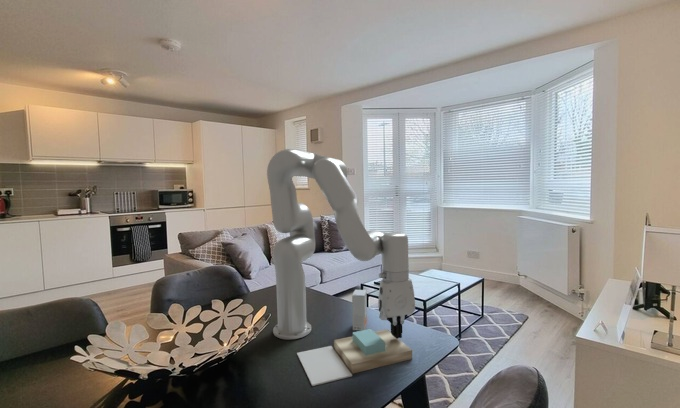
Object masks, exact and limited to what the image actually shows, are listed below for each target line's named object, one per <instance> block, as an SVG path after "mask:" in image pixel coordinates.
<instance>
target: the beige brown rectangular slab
mask: <svg viewBox="0 0 680 408" xmlns="http://www.w3.org/2000/svg"><path fill="white" fill-rule="evenodd" d="M374 332H375V333H376V334H377V335H378V336H379V337H380V338H381V339H382V340H383V341H385V351H383V352H379V353H375V354H370V355H365V354H364V353H363V352H362V351H361V350H360V348H359V347H358V346H357V345H356V344H355V343H354V342H353V335H351V336H347V337H342V338H338V339H337V338H336V339H333V349H334V350H335V352H336V353H337V354H338V356H339V357H340V358H341V360H342V361H343V363H344V364H345V365H346V367H347V368H348V370H349V371H350V372H351V374H352V375H353V374H357V373H360V372H361V373H362V372H365V371H370V370H373V369H376V368H382V367H386V366H389V365H393V364H397V363H401V362H405V361H410V360H412V359H413V349H412V348H410V347H409V346H408V345H407V344H406V343H405V342H403V341H402V340H401V338H398V339H396V338H395V337H394V336H393V335H392V334H391V330H389V329H382V330H377V331H376V330H375V331H374Z"/></svg>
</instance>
